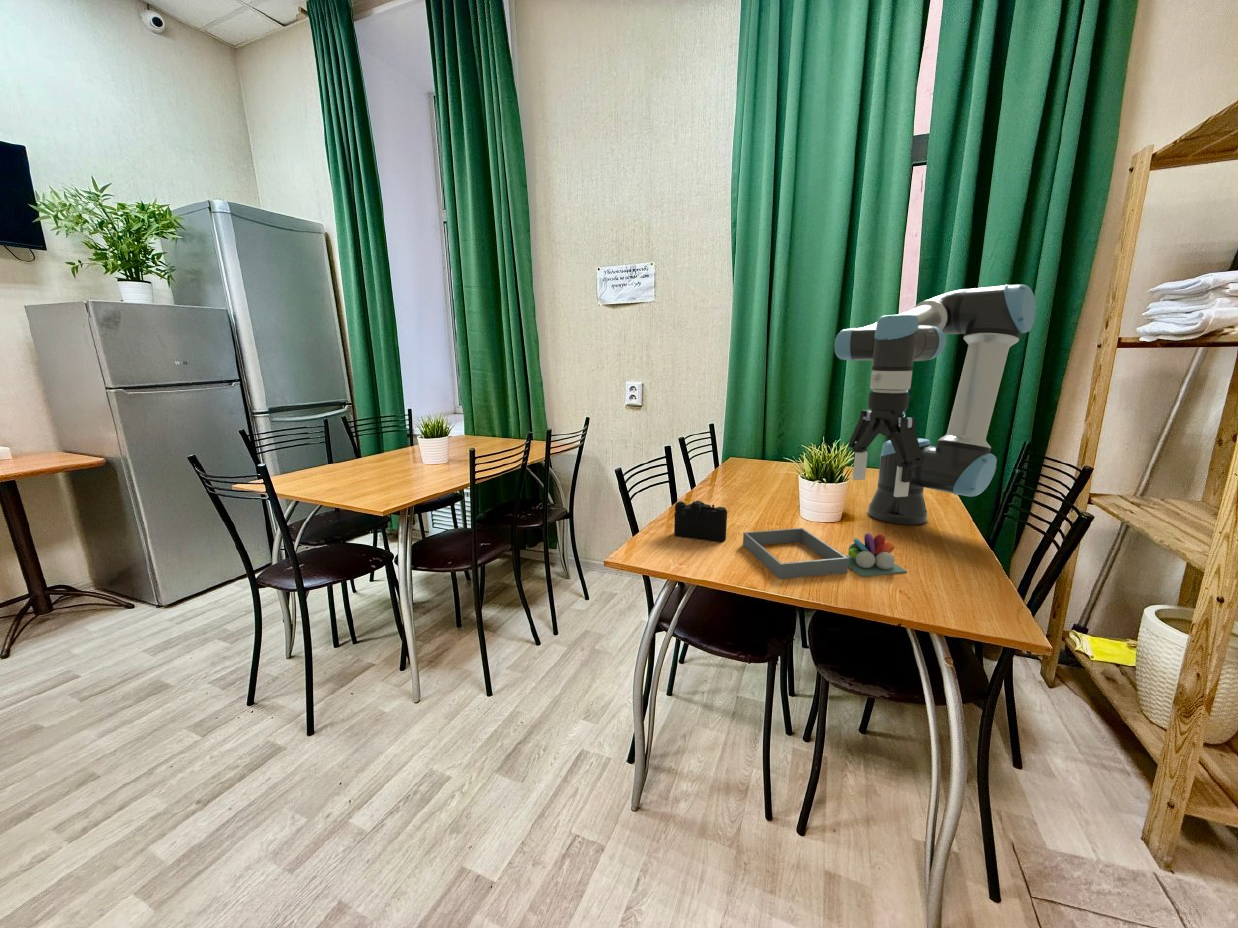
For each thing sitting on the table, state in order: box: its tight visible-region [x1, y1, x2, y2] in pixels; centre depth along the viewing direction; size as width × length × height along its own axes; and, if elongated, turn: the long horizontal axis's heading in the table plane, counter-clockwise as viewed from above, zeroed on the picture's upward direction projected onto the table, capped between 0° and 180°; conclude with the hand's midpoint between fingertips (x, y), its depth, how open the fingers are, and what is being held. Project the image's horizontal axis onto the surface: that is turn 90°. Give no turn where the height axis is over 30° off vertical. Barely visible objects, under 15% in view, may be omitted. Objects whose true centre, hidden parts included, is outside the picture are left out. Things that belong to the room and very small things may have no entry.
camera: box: [673, 500, 728, 543], centre depth 131 cm, size 14×11×10 cm
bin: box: [742, 527, 849, 580], centre depth 116 cm, size 16×19×4 cm
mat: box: [845, 554, 907, 578], centre depth 112 cm, size 11×10×1 cm
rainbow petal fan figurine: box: [847, 532, 896, 569], centre depth 111 cm, size 8×10×7 cm
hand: (878, 487), depth 108 cm, fingers open, 13 cm apart
